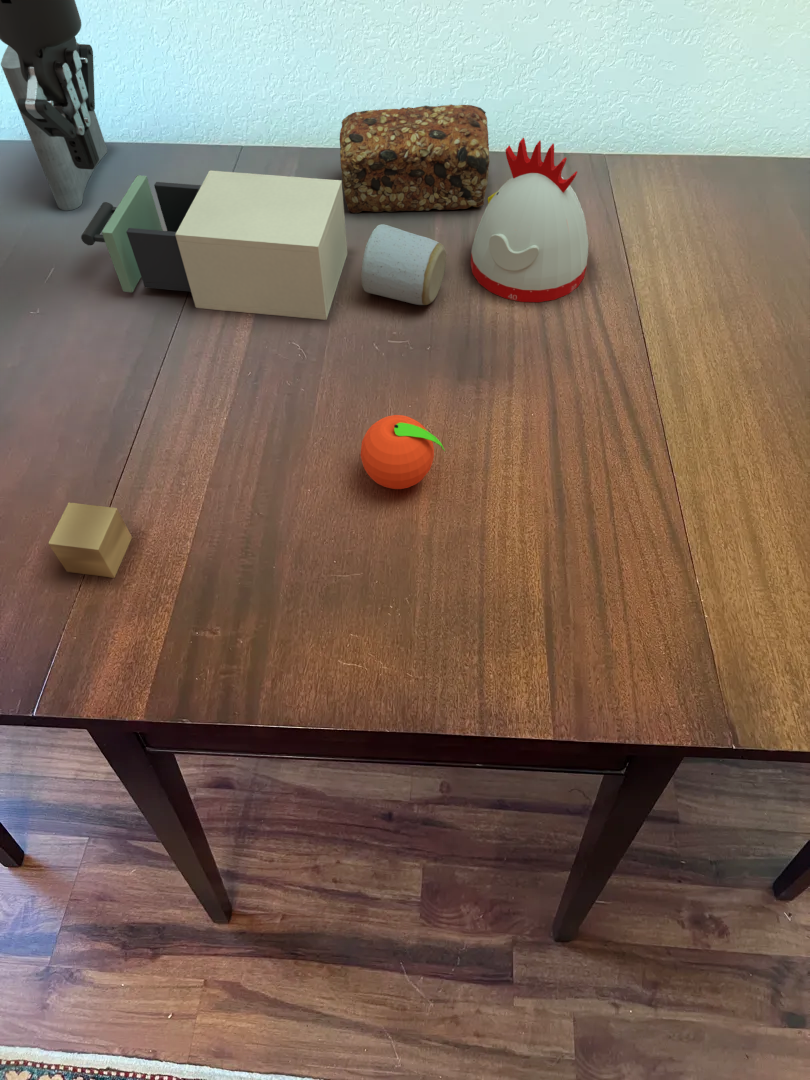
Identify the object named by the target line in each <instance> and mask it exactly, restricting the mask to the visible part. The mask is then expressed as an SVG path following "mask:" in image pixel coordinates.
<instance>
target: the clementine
mask: <svg viewBox="0 0 810 1080" xmlns="http://www.w3.org/2000/svg"><path fill="white" fill-rule="evenodd" d="M434 443H435V444H437V445H438V446H440V448H441V449H442V450H443V451H444V452H446V450H445V448H444V446H443V444H442V442H441V441H440V440H439V439H438V438H437V437H436V436H435V435H433V434H432V433H431V432H429V431H428V429H426V428H425V425H423V424H421V422H419V421H418V420H416V419H414V418H412V417H410V416H407V415H402V414H394V415H393V414H392V415H388V416H387V415H386V416H385V417H383V418H380V419H379V420H377V421H376V422H374V423H373V424H372V425H371V426H370V427H369V428H368V429H367V431H365V434H364V436H363V437H362V441H361V447H360V460H361V463H362V466H363V469H364V470H365V472H366V473H367V476H369V477H370V479H371V480H373V481H374V482H375V483H376V484H378V485H379V486H381V487H384V488H387V489H392V490H402V489H407V488H410V487H412V486H415V485H418V483H420V482H421V481H422V480H423V479H424V478H425V477H426V476H427V474H428V473H429V472H430V470H431V468H432V466H433V462H434V458H435V447H434Z"/></svg>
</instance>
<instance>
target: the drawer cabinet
mask: <svg viewBox="0 0 810 1080" xmlns="http://www.w3.org/2000/svg"><path fill="white" fill-rule="evenodd" d="M200 185H201V187H200V189H199V191H198V193H197V195H196V197H195V199H194V200H193V202H192V204H191V206H190V208H189V210H188V212H187V213H186V215H185V217H184V219H183V221H182V223H181V225H180V227H179V228H178V230H177V232H176V234H175V236H176V239H177V243H178V246H179V250H180V253H181V257H182V260H183V264H184V268H185V271H186V275H187V278H188V282H189V285H190V289H191V292H190V293H191V296H192V300H193V304H194V307H195V308H196V309H202V310H203V309H204V310H213V311H214V310H216V311H225V312H237V313H248V314H257V315H268V316H277V317H278V316H280V317H290V318H299V319H310V320H311V319H312V320H321V321H327V320H328V316H329V313H330V311H331V307H332V304H333V301H334V298H335V295H336V291H337V288H338V285H339V283H340V279H341V276H342V272H343V269H344V266H345V263H346V259H347V257H348V243H347V232H346V231H347V230H346V218H345V205H344V194H343V192H344V191H343V180H342V179H341V180H340V179H327V178H313V177H302V176H301V177H300V176H290V175H289V176H288V175H274V174H260V173H247V172H235V171H222V170H209V171H208V173H207V174H206V176H205V178H204V180H203V182H202V184H200Z"/></svg>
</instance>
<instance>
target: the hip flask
mask: <svg viewBox="0 0 810 1080" xmlns="http://www.w3.org/2000/svg"><path fill="white" fill-rule="evenodd" d="M0 66H1V68H2V71H3V74H4V77H5V78H6V82H7V83H8V86H9V89H10V90H11V93H12V96H13V98H14V99H13V100H14V101H15V103H16V106H17V108H18V99H19V98H27V85H28V83H27V82H26V81H25V80H24V78H23V76H22V74H21V69H20V62H19V58H18V54H17V53H16V51H15V50H14V49H12V48H11V47H10V46H8V45H7V47H6V49H5V51H4V54H3V55H2V58H1V61H0ZM18 111H19V114H20V116H21V118H22V121H23V123H24V126H25V128H26V131H27V133H28V135H29V138H30V140H31V143H32V145H33V149H34V151H35V153H36V155H37V158H38V161H39V163H40V165H41V168H42V170H43V173H44V175H45V178H46V180H47V183H48V185H49V188H50V191H51V192H52V195H53V198H54V200H55V203H56V205H57V208H58V209H59V210H61V211H73V210H76V209H78V208H80V207H81V206H82V204H83V199H84V194H85V191H86V187H87V184H88V183H89V181H90V178H91V177H92V174H93V173H94V170H95V169H96V167H97V166H98V165H99V163H100V162H101V161H102V159H103V158H104V157H105V156H106V155H107V153H108V148H107V144H106V141H105V139H104V136H103V132H102V129H101V126H100V123H99V120H98V117H97V114H96V111H95V110H94V111H89V116H90V120H91V124H90V126H89V130H90V133H91V135H92V138H93V141H94V144H95V147H96V150H97V153H98V156H99V161H98V163H97V164H96V166H95V167H94V169H79V168H77V167H76V166H75V165H74V163H73V161H72V158H71V155H70V152H69V150H68V147H67V144H66V141H65V139H64V137H50V136H48V135H47V134H46V133H45V132H44V131H42V130H41V129H40V128H39V127H38V126H37V125H35V124H34V123H33V122H32V121H31V120H30V119H28V118H27V117H26V116H25V115H24V114H23V113H21V112H20V110H19V108H18Z"/></svg>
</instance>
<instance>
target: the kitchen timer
mask: <svg viewBox="0 0 810 1080" xmlns="http://www.w3.org/2000/svg"><path fill="white" fill-rule="evenodd" d="M517 146H518V147H517V153H516V154H515V152H514V150H513V149H512V147H511V145H508V146H507V147H506V149H505V157H506V161H507V163H508V167H509V169H510V173H511V176H512V177H510V178H509V179H508V180H506V181H505V183H503V184H502V186H500V188H499V189H498V190H497V191H496V192H494V193H492V194H491V195H490V196H488V197H487V205H486V207H485V210H484V212H483V214H482V216H481V218H480V221H479V224H478V226H477V229H476V232H475V234H474V239H473V243H472V246H471V251H470V269H471V273H472V275H473V277H474V278H475V279H476V281H477V283H478V284H479V285H480V286H482V287H483V288H484V289H486V290H487V291H488V292H490V293H492V294H494V295H496V296H499V297H501V298H504V299H507V300H510V301H515V302H520V303H542V302H548V301H549V302H550V301H555V300H557V299H560V298H563V297H565V296H568V295H570V294H571V293H572V292H574V291H575V290H576V289H577V288H578V287H579V286H580V284H581V283H582V281H583V280H584V278H585V275H586V271H587V266H588V258H589V257H588V256H589V236H588V228H587V222H586V221H587V220H586V216H585V213H584V210H583V208H582V204H581V201H580V199H579V198H578V196H577V194H576V192H575V190H574V188H573V187H572V186H571V184H572V182H573V181H574V179H575V178H576V176H577V174H578V171H577V170H576V171H575V172H574V173H573V174H572V175H571V176H569V177H568V178H566V179H565V178H564V177H563V176H562V172H563V170H564V167H565V165H566V163H567V156H565V157H563V158H562V160H560V161H559V163H558V164H557V165H555V143H552V144H551V145H550V146H549V147H548V150H547V151H546V153H545V157H544V159H543V161H542V140H539V141H538V142H537V143H536V144H535V146H534V148H533V151H532V154H531V157H529V156H528V151H527V146H526V140H525V137H522V138H521V140H520V141H519V142H518V145H517Z"/></svg>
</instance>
